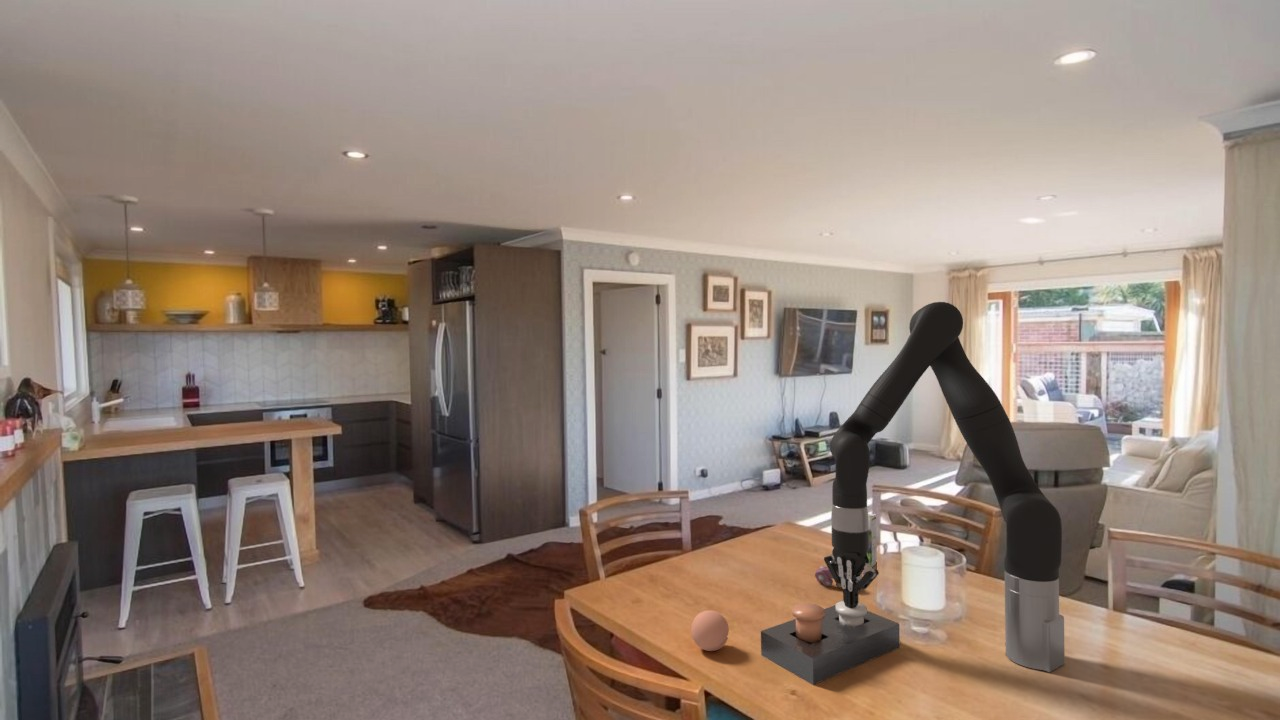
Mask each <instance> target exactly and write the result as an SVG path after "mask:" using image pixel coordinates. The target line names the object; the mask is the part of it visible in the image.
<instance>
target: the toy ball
mask: <svg viewBox="0 0 1280 720" xmlns="http://www.w3.org/2000/svg"><path fill="white" fill-rule="evenodd" d="M690 630H691V637H692V639H693V641H694V643H695V644H696V645H697V646H698V648H700V649H702V650H704V651H706V652H707V651H708V652H714V651H717V650H720V649H721V648H723V647H724V646H725V644H726V643H727V641H728V639H729V638H728V636H729V630H730V628H729V623H728V621H727V620H726V618H725V617H724V615H722V614H721V613H719V612H718V611H715V610H708V609H707V610H703V611H701V612H699V613H698V614H696V616H695V617H694V618H693V620H692V624H691V629H690Z"/></svg>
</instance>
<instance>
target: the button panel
mask: <svg viewBox="0 0 1280 720" xmlns="http://www.w3.org/2000/svg"><path fill="white" fill-rule="evenodd" d="M824 610H825V617H824V618H823V619H822V620H821V633H822V639H821V640H820V641H817V642H815V643H808V642H804V641H802V640H800V639H798V638H797V637H796V618H795V619H791V620H788V621H786V622H783V623H779V624H777V625H775V626H771V627H769V628H765V629H762V630H761V631H760V650H761V651H760V655H761V656H762V657H764V658H765V659H768V660H769V661H771V662H773V663H774V664H776V665H778V666H779V667H781V668H783V669H785V670H786V671H788V672H790V673H791V674H794V675H796V676H797V677H799V678H801V679H802V680H804V681H805V682H807V683H809V684H811V685H813V686H814V685H816V684H818V683H821V682H823V681H826V680H828V679H831V678H832V677H834V676H837V675H839V674H841V673H844V672H846V671H848V670H851V669H854V668H855V667H857V666H860V665H863V664H864V663H865V664H866V663H867V662H869V661H872V660H873V659H876V658H878V657H882V656H883V655H885V654H887V653H890V652H892V651H895V650H896V649H899V648H900V647H901V646H900V643H901V641H900V640H901V639H900V638H901V637H900V623H899V622H896V621H894V620H892V619H889V618H886V617H884V616H882V615H879V614H877V613H874V612H872V611H869V610H867V615H866V616H864V624H862V625H859V626H856V627H854V628H853V627H851V626H849V625H846V624H844V623H842V622H840V621H839V614H838V613H837V612H836V604H835V605H832V606H829V607H826V608H824Z"/></svg>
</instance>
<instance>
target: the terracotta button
mask: <svg viewBox="0 0 1280 720" xmlns="http://www.w3.org/2000/svg"><path fill="white" fill-rule="evenodd" d="M824 609H825V608H823V606H820V605H818V604H815V603H810V602H801V603H796V604H794V605H793V606H792V608H791V615H792V616H793V617H794V618H795V619H796V637H797V638H798V639H800V640H802V641H804V642H808V643H815V642H817V641H820V640H821V639H822V633H821V620H822V619H823V618H824V617H825V610H824Z"/></svg>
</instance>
